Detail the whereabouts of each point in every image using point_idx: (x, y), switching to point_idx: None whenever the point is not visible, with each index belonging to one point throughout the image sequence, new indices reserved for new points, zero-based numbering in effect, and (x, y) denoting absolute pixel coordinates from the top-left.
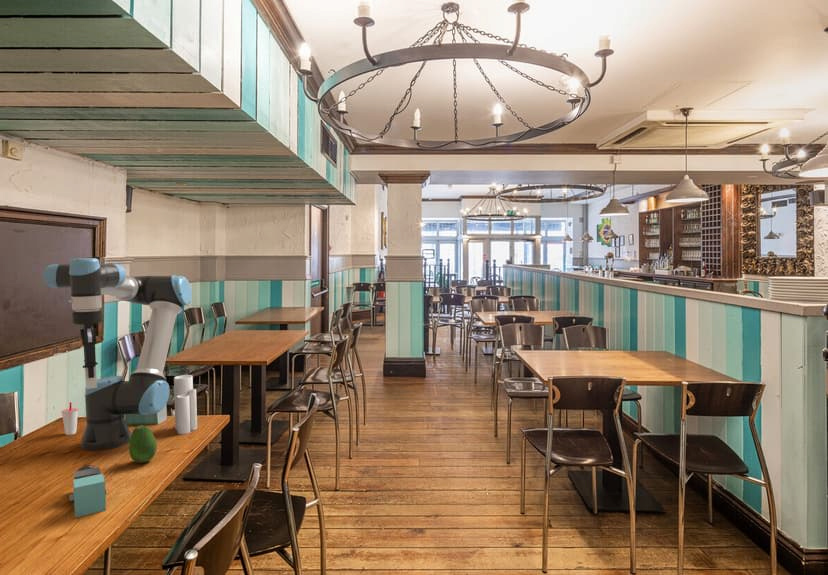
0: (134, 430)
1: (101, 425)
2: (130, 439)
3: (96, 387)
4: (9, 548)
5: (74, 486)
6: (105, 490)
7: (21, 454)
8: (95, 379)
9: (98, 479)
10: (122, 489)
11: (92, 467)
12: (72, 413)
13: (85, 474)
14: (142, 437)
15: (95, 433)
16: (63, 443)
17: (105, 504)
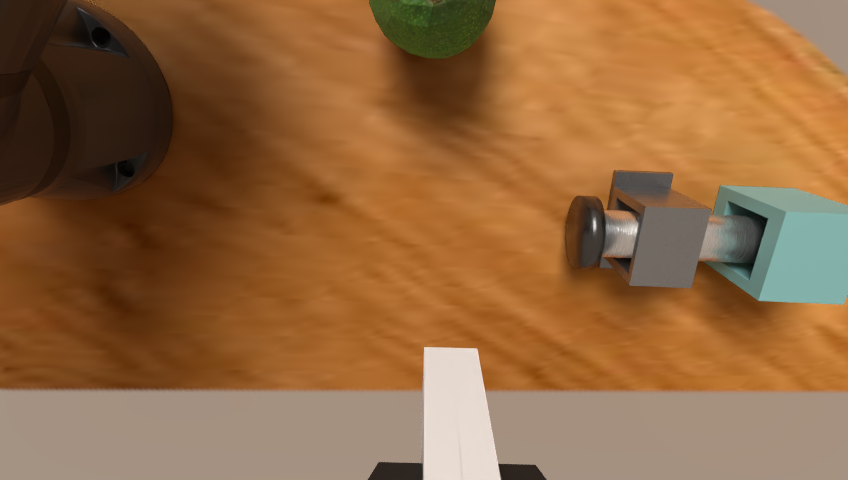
0: (435, 20)
1: (77, 139)
2: (427, 47)
3: (475, 353)
4: (814, 387)
5: (829, 302)
6: (653, 174)
7: (88, 356)
8: (487, 421)
9: (836, 232)
10: (666, 121)
11: (605, 223)
12: None
13: (691, 255)
14: None
15: (107, 160)
16: (12, 243)
17: (808, 193)
